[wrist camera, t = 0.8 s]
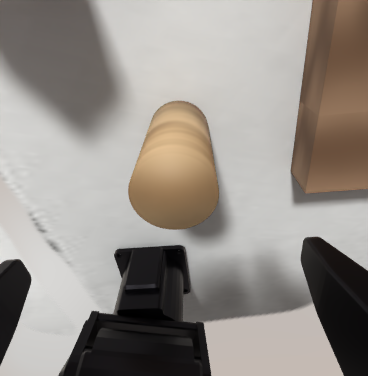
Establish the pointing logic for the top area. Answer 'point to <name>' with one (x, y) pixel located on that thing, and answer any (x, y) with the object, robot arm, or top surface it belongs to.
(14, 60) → the top surface
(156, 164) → the peg
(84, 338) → the robot arm
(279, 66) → the top surface
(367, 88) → the socket block
